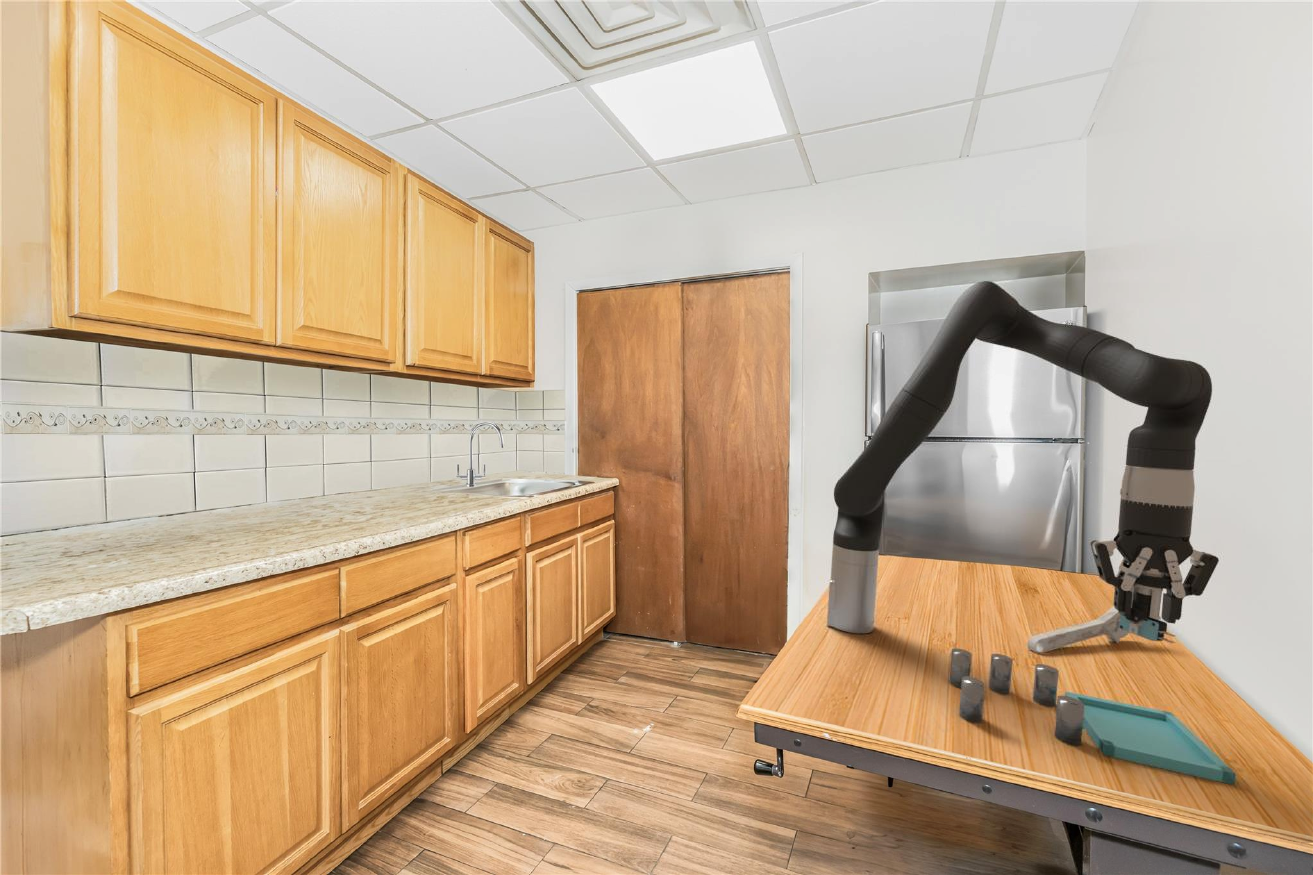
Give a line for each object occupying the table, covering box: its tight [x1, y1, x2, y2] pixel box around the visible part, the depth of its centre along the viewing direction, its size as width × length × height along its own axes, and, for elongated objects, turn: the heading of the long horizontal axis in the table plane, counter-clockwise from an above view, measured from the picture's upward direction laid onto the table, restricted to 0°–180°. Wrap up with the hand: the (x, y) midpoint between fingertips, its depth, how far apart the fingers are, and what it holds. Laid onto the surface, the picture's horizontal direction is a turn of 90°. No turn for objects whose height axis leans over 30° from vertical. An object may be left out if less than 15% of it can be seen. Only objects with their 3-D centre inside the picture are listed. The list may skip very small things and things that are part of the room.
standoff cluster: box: [948, 647, 1085, 747], centre depth 83 cm, size 15×15×6 cm
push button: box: [1119, 568, 1177, 644], centre depth 76 cm, size 7×5×10 cm
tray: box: [1064, 691, 1237, 786], centre depth 76 cm, size 13×15×2 cm
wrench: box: [1026, 605, 1131, 654], centre depth 109 cm, size 8×2×30 cm
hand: (1146, 617), depth 76 cm, fingers closed on push button, 4 cm apart
